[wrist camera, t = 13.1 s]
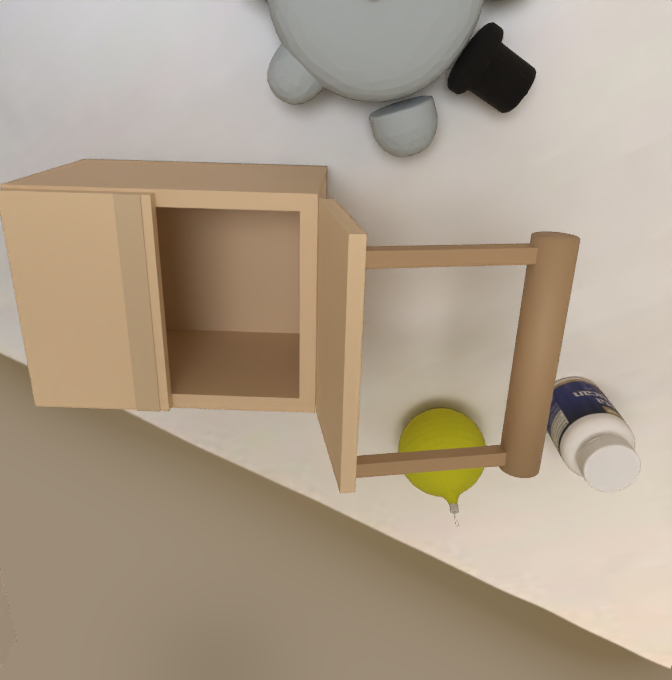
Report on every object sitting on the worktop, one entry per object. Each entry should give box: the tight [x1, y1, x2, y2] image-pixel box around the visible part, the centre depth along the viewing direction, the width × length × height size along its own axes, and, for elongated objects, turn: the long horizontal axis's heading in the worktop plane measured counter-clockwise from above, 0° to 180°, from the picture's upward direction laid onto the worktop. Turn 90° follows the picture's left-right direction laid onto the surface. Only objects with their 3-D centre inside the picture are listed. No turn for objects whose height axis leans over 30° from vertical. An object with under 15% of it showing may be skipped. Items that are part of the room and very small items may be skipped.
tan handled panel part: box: [316, 198, 580, 493], centre depth 35 cm, size 9×14×11 cm
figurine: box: [266, 0, 536, 157], centre depth 39 cm, size 17×8×20 cm
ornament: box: [398, 408, 486, 527], centre depth 50 cm, size 7×7×10 cm
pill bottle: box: [547, 377, 641, 492], centre depth 49 cm, size 5×5×10 cm
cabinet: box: [0, 159, 327, 413], centre depth 43 cm, size 18×14×13 cm
